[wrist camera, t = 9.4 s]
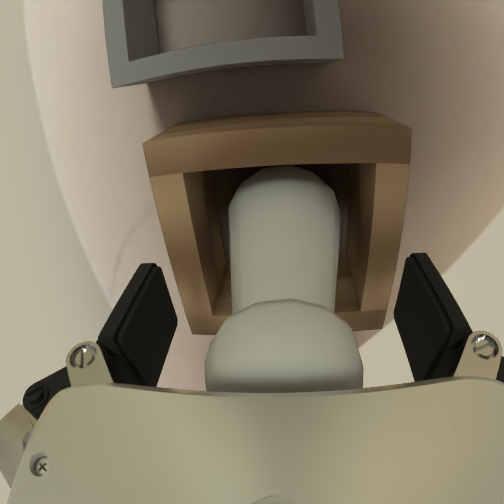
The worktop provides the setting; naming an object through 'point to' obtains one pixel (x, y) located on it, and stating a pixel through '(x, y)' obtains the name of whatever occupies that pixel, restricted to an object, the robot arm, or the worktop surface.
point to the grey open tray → (210, 55)
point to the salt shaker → (283, 291)
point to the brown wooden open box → (282, 153)
